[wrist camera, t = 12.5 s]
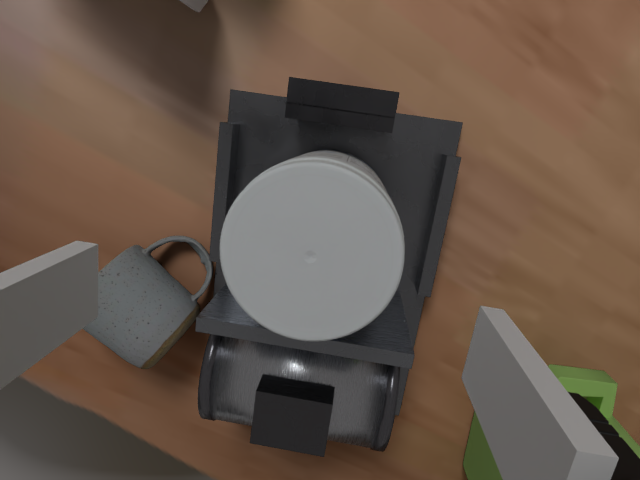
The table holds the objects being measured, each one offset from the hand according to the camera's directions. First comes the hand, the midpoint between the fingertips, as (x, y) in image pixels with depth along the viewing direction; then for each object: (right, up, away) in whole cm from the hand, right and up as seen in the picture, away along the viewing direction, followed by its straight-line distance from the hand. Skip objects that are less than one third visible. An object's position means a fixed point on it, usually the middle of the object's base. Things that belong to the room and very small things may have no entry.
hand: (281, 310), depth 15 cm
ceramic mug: (-13, -1, +25) cm, 28 cm away
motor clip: (+2, +1, +23) cm, 23 cm away
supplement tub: (+2, +5, +21) cm, 22 cm away
